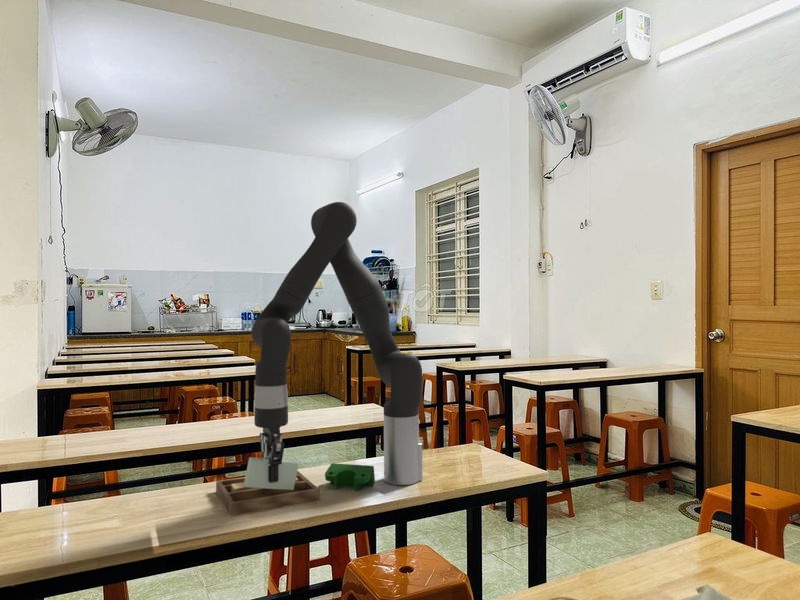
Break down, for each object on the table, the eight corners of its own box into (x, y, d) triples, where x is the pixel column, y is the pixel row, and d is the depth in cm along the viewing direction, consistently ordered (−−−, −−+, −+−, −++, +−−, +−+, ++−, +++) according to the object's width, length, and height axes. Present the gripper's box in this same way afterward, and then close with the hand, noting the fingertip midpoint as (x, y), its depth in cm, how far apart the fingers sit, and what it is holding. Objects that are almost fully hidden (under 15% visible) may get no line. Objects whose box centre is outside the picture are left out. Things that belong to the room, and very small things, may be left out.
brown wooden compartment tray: (296, 483, 144) (296, 469, 144) (319, 504, 128) (319, 489, 128) (216, 495, 135) (216, 481, 135) (230, 520, 119) (229, 504, 119)
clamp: (334, 509, 138) (317, 477, 137) (342, 495, 143) (325, 465, 142) (375, 495, 134) (358, 462, 133) (382, 481, 140) (365, 450, 139)
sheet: (243, 484, 126) (290, 487, 130) (245, 487, 123) (293, 490, 128) (249, 457, 126) (295, 461, 131) (251, 459, 124) (298, 463, 129)
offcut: (256, 492, 134) (256, 480, 134) (260, 497, 130) (260, 484, 130) (231, 496, 131) (231, 484, 131) (234, 502, 128) (234, 488, 128)
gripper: (296, 407, 123) (296, 486, 123) (279, 398, 135) (279, 470, 135) (262, 410, 120) (262, 491, 119) (248, 401, 132) (248, 474, 132)
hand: (271, 480), depth 127 cm, fingers closed on sheet, 2 cm apart
